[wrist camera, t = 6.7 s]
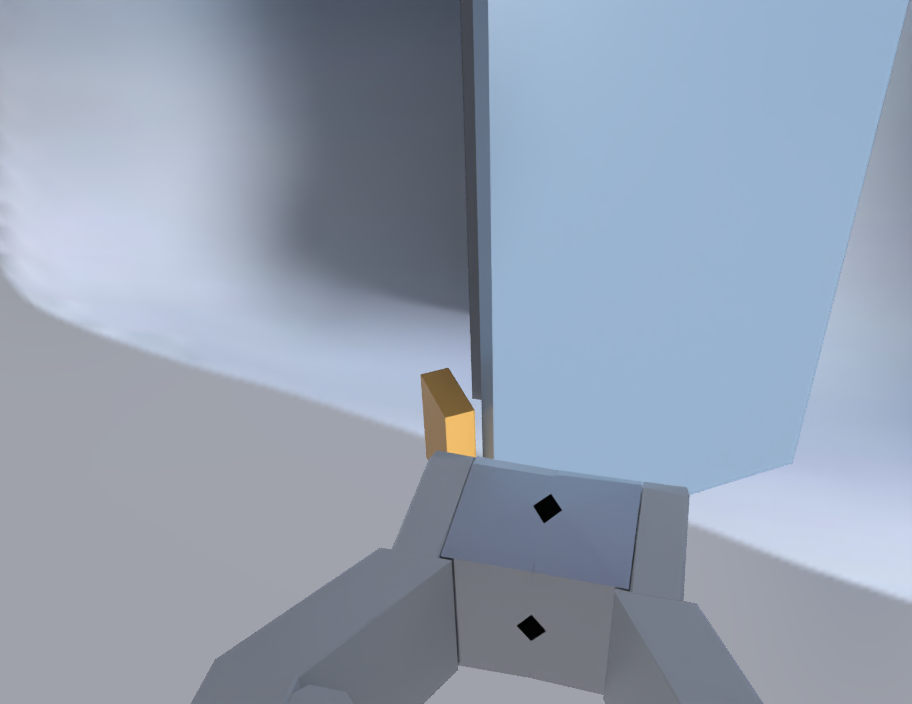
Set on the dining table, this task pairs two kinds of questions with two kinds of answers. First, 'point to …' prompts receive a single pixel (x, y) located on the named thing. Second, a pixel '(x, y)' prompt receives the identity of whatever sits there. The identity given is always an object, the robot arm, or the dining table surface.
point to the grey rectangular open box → (471, 190)
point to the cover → (661, 227)
